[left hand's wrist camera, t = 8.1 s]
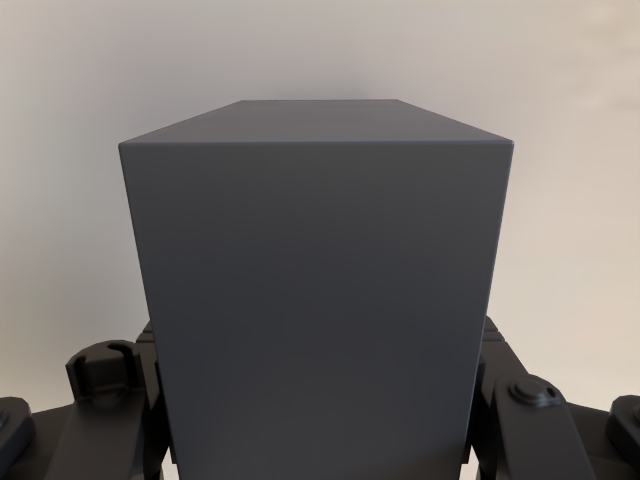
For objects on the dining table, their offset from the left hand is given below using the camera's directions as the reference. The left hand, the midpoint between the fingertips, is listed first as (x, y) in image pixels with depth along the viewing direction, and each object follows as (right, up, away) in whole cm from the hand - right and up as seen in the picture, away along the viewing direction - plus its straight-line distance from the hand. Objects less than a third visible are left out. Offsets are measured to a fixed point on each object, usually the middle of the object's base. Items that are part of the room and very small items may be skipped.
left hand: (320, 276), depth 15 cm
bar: (0, -27, +12) cm, 29 cm away
